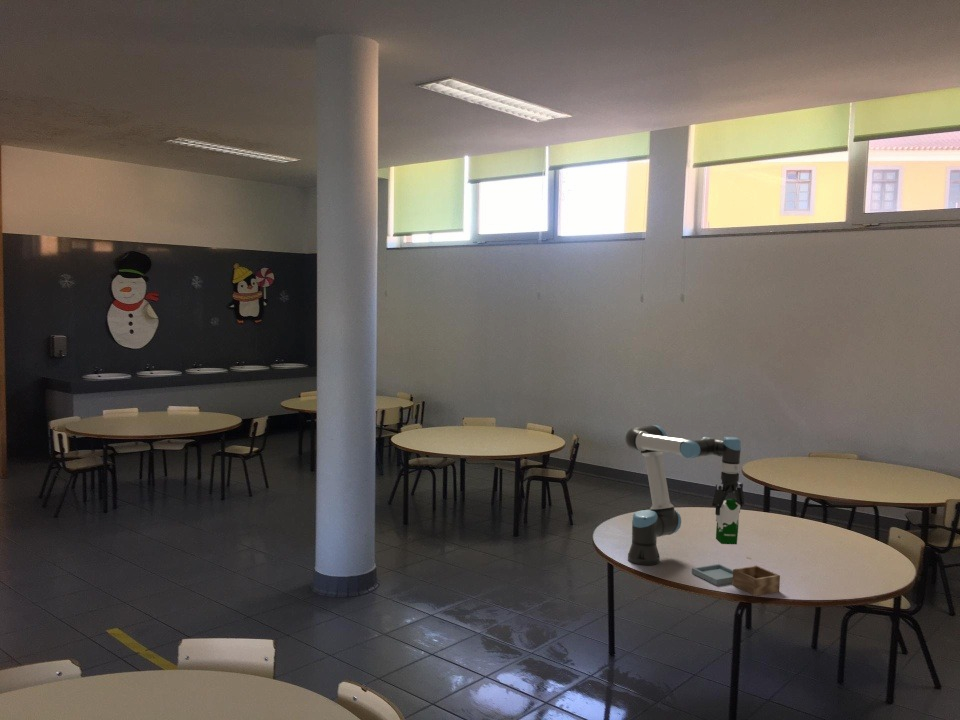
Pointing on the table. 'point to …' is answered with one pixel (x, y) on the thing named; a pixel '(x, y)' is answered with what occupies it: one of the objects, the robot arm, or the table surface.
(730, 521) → the soya milk
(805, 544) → the table surface
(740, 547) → the table surface
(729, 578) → the tray
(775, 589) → the holder
